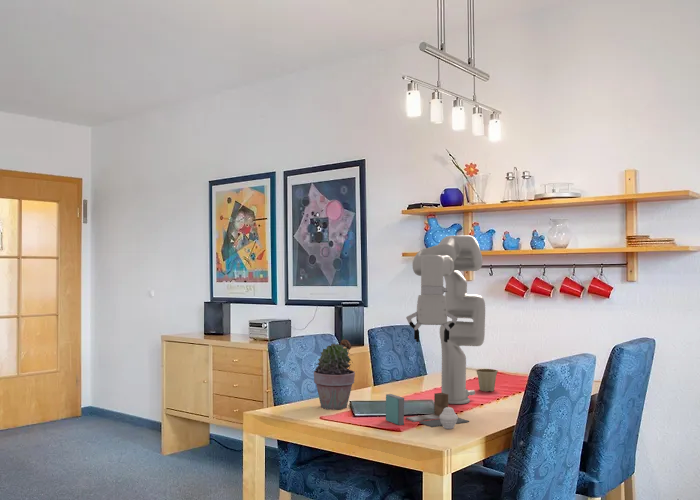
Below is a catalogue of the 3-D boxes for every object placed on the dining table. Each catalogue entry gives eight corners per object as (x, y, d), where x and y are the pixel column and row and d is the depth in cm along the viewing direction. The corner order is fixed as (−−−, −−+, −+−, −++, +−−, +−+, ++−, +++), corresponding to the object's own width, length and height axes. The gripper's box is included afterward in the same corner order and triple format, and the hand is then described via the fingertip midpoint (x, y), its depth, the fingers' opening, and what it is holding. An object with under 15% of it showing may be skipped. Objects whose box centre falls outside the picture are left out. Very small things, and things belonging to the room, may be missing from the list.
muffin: (445, 430, 224) (445, 409, 224) (435, 426, 230) (435, 405, 230) (461, 429, 227) (461, 407, 227) (451, 425, 232) (451, 404, 232)
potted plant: (299, 410, 252) (300, 342, 253) (320, 400, 271) (321, 337, 271) (346, 414, 246) (346, 344, 246) (363, 404, 264) (364, 339, 265)
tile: (390, 419, 239) (390, 393, 239) (403, 424, 232) (404, 397, 232) (385, 420, 238) (385, 394, 238) (398, 425, 231) (398, 398, 231)
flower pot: (475, 392, 293) (475, 371, 293) (475, 388, 302) (475, 368, 302) (498, 392, 291) (498, 372, 292) (497, 388, 301) (497, 369, 301)
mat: (455, 417, 243) (455, 416, 243) (468, 422, 237) (468, 420, 237) (419, 422, 235) (419, 421, 235) (431, 427, 229) (431, 426, 229)
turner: (441, 414, 248) (441, 392, 248) (448, 417, 244) (449, 394, 244) (405, 419, 240) (406, 396, 240) (413, 421, 236) (413, 398, 237)
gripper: (455, 291, 238) (455, 340, 237) (405, 290, 238) (405, 340, 237) (459, 292, 230) (458, 343, 230) (407, 291, 230) (407, 342, 230)
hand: (431, 341), depth 234 cm, fingers open, 9 cm apart
